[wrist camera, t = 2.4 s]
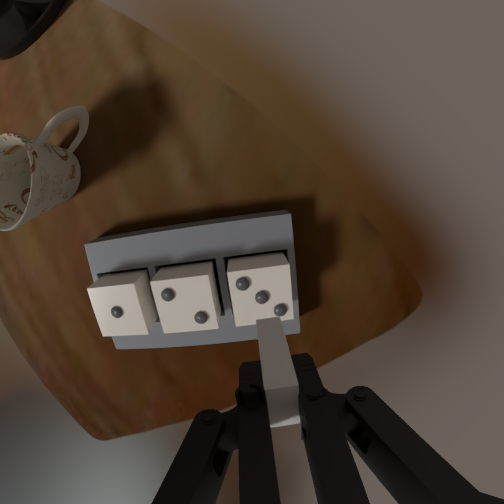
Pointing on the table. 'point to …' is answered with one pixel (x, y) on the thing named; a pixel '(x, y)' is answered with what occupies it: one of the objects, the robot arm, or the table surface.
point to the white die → (187, 297)
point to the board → (193, 249)
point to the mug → (38, 171)
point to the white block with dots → (260, 288)
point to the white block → (124, 303)
